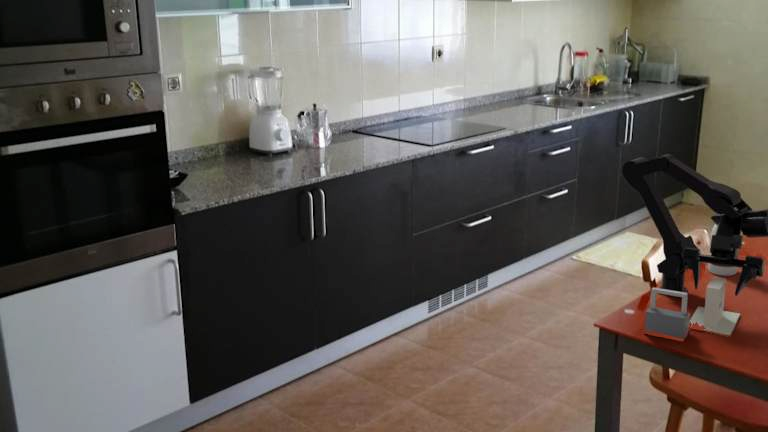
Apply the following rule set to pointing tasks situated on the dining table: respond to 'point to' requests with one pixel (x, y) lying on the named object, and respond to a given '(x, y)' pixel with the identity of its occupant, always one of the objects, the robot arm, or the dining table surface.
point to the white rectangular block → (714, 301)
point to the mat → (724, 325)
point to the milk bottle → (721, 269)
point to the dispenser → (667, 316)
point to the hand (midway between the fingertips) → (715, 292)
